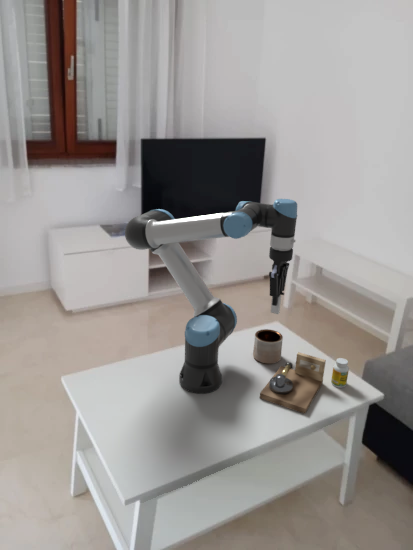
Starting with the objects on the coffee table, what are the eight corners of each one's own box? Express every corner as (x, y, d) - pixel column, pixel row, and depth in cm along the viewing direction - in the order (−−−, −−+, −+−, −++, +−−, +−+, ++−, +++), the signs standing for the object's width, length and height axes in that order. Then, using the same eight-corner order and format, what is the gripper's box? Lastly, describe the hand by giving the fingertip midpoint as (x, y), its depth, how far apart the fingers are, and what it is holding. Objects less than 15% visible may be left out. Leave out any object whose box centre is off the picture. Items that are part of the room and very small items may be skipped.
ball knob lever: (288, 397, 158) (290, 383, 156) (265, 390, 162) (267, 376, 159) (299, 378, 169) (301, 364, 167) (278, 371, 173) (279, 358, 170)
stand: (259, 398, 161) (261, 372, 157) (280, 370, 177) (283, 347, 174) (305, 413, 154) (308, 388, 150) (322, 383, 170) (326, 359, 166)
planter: (282, 365, 181) (284, 343, 177) (254, 364, 181) (255, 342, 177) (278, 350, 191) (281, 329, 187) (251, 349, 191) (253, 328, 187)
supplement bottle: (337, 378, 174) (341, 355, 170) (349, 385, 170) (353, 362, 166) (327, 382, 171) (331, 359, 168) (339, 389, 167) (342, 366, 163)
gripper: (285, 254, 147) (278, 322, 156) (299, 244, 158) (291, 308, 166) (263, 250, 150) (257, 317, 159) (278, 240, 161) (271, 303, 170)
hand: (275, 312), depth 163 cm, fingers closed
